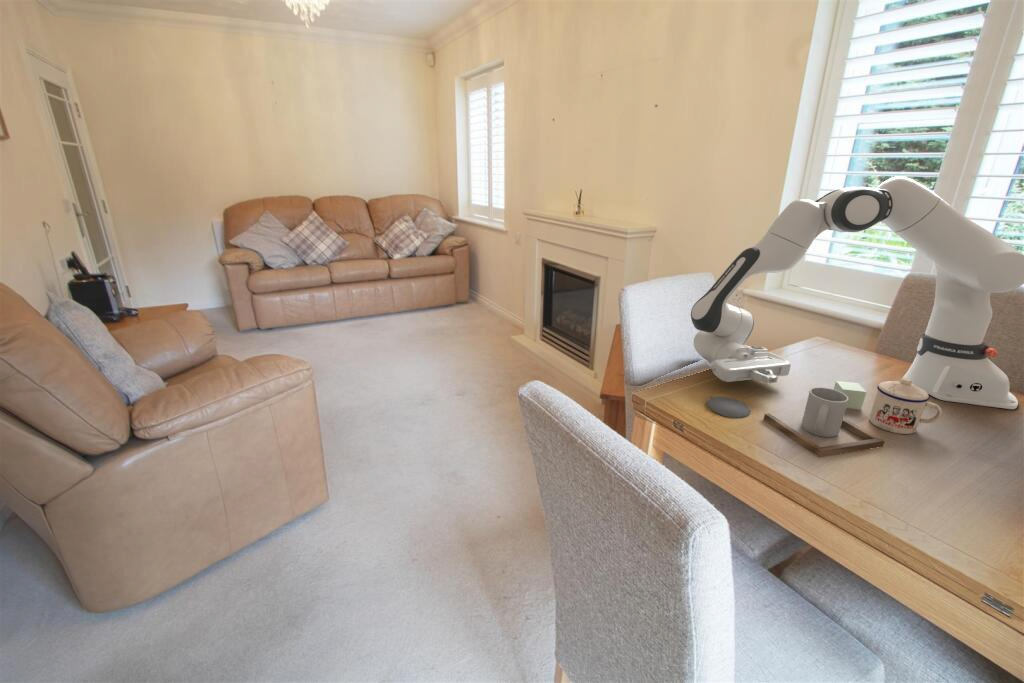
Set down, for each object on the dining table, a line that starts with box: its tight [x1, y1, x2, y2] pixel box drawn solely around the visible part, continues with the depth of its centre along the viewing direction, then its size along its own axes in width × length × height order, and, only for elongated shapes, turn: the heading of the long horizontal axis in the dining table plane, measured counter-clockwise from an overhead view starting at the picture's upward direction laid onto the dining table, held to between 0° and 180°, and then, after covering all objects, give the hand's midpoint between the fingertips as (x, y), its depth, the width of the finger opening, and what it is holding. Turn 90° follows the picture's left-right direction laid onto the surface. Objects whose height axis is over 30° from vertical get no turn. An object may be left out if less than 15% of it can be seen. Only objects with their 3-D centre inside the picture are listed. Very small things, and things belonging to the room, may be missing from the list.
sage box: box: [833, 380, 867, 410], centre depth 115 cm, size 5×5×5 cm
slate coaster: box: [706, 396, 752, 419], centre depth 114 cm, size 10×10×1 cm
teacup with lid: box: [868, 377, 943, 435], centre depth 104 cm, size 12×9×12 cm
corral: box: [763, 413, 886, 458], centre depth 103 cm, size 16×16×2 cm
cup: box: [801, 386, 848, 438], centre depth 102 cm, size 7×10×9 cm
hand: (772, 380), depth 116 cm, fingers closed
